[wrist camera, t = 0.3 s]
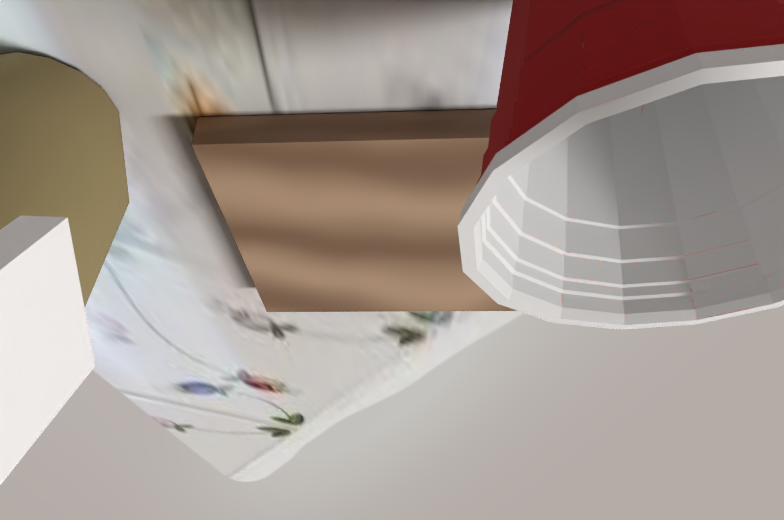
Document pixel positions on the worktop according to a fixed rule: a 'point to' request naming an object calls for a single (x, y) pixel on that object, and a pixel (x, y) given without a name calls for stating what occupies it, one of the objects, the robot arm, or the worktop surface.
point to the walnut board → (349, 206)
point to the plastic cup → (634, 164)
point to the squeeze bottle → (61, 155)
